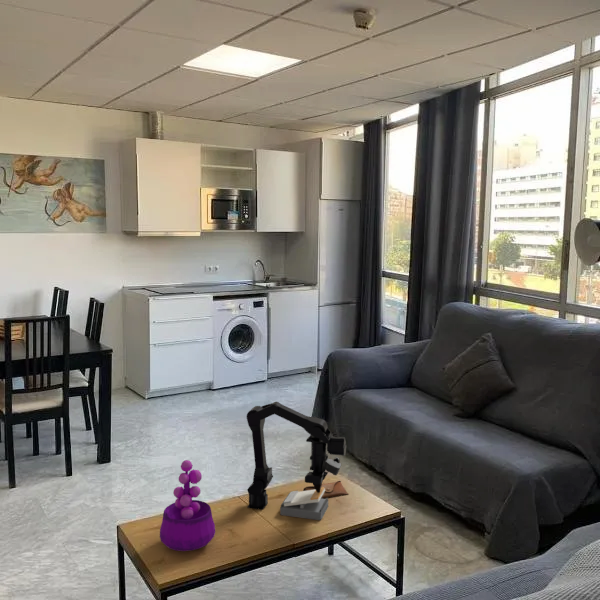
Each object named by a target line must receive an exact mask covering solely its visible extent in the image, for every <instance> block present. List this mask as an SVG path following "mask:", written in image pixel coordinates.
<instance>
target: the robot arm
mask: <svg viewBox="0 0 600 600" xmlns="http://www.w3.org/2000/svg"><path fill="white" fill-rule="evenodd" d="M273 415H276V416H278V417H280V418H282V419H284V420H286V421H287V422H290V423H292V424H294V425H297V426H298V427H301V428H303V429H304V431H305V432H306V433H308V434H309V436H308V437H307V438H306V439H305V441H306V442H307V443H311V444H310V445H311V446H310V449H311V450H310V451H311V453H310V456H309V460H310V464H311V465H310V466H309V471H308V472H307V473H306V475H305V476H304V483H307V484H312V486H314V487H315V489H316V492H317V493H320V490H321V486H322V484H323V481H324V480H325V478H326V476H327V475H328V473H330V474H332V475H333V476H338V474H339V472H340V470H341V466H342V463H341V459H340V458H339V457H337V456H346V453H347V441H346V437H345V436H333V433H332V431H331V429H329V427H328V423H327V420H324V419H323V418H320V417H316V416H308V415H305V414H303V413H301V412H299V411H297V410H294V409H293V408H290V407H288V406H287V405H284V404H282V403H280V402H279V401H273V402H272V403H268V404H265V405H262V406H260V405H255V406H254V407H252V408H251V409H250V410H249V411H248V412H247V414H246V422H247V425H248V427H249V429H250V431H251V434H252V435H251V436H252V445H253V457H254V465H255V466H254V467H255V468H254V472H253V479H252V483H251V484H250V485H249V487H248V488H247V492H248V504H247V509H253V510H260V511H262V510H264V509H265V508H266V506H268V504H269V501H268V499H269V498H268V495H269V494H268V493H267V487H268V486H269V485H270V483H271V482H272V479H273V478H274V475H273V467H269V466H268V464H267V453H266V444H265V433H264V427H265V423H266V418H268V417H271V416H273ZM328 454H329V455H332V456H336V457H334V458H331V459H330V458H329V455H328Z"/></svg>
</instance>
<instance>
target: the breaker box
mask: <svg viewBox="0 0 600 600" xmlns="http://www.w3.org/2000/svg"><path fill="white" fill-rule="evenodd" d="M289 494H290V492H289V493H288V495H289ZM288 495H286V497H285V498H284V500H283V501H282V503H281V505H280V509H279V510H280V516H286V517H287V516H288V517H293V518H294V517H295V518H302V519H309V520H316V521H322V519H323V517H324V515H325V514H326V513H327V512H326V511H327V510H328V508H329V498H326V499H320V500H319V502H314V503H306V504H299V505H292V506H284V501H285V499H286V498H287V497H288Z"/></svg>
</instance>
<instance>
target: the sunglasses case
mask: <svg viewBox="0 0 600 600" xmlns="http://www.w3.org/2000/svg"><path fill="white" fill-rule="evenodd" d="M321 487H324V488H325V492H324V494H323V495H322V497H321V499H326V498H328V499H330V498H331V499H332V498H335V497H341V495H342V496H348V495H349V493H348V492H347V490H346V488H345V487H344V485H343V483H342V480H337V481H334V482H327V483H322V486H321ZM314 489H315V487H314V485H312V486H311V485H310V486H305V487H304V488H303V490H302V491H307V490H314Z"/></svg>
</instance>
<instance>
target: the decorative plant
mask: <svg viewBox="0 0 600 600" xmlns="http://www.w3.org/2000/svg"><path fill="white" fill-rule="evenodd" d="M192 468H193V463H192V461H190V460H188V459H185V460H184V461H182V462H181V465H180V469H181V470H182V472H181V473H180V474H179V476H178V482H179V483H180V484H182V485H183V487H182V486H177V487H175V488H174V490H173V496H174V497H175V498H176V499H175V502H173V503H171V504H169V505H168V506H166V508H165V509H164V510H163V514H162V520H161V525H160V529H159V539H160V542H161V543H163V544H164V546H165V547H167V548H168V549H170V550H173V551H178V552H179V551H180V552H186V551H187V552H188V551H195V550H199V549H201V548H203V547H205V546H207V545H208V544H209V543H210V542H211V541H212V540H213V539H214V537H215V535H216V525H215V522H214V519H213V514H212V508H211V506H210V504H208V503H207V502H204V501H203V500H196V499H193V498H198V497H199V496H200V494H201V488H200V487H199V486H197V484H198V483H200V482H201V481H202V476H203V475H202V472H201V471H200V470H198V469H192ZM191 484H193V485H192V486H191ZM195 484H196V485H195Z"/></svg>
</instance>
